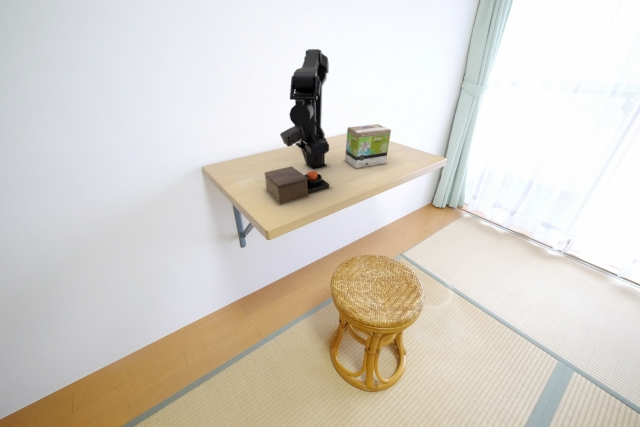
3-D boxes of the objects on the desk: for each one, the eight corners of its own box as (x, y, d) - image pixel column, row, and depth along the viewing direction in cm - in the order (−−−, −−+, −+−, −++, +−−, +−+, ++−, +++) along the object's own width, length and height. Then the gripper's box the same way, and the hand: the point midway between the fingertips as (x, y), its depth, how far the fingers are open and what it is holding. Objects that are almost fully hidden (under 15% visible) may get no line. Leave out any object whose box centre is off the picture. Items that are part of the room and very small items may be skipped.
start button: (305, 177, 93) (305, 172, 92) (314, 174, 95) (314, 170, 94) (310, 180, 91) (310, 176, 90) (319, 178, 92) (319, 173, 91)
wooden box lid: (308, 179, 83) (308, 177, 83) (278, 187, 79) (278, 185, 79) (291, 167, 93) (291, 166, 92) (264, 174, 88) (264, 172, 88)
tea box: (356, 169, 106) (359, 133, 98) (344, 161, 114) (346, 126, 106) (386, 163, 111) (391, 128, 103) (373, 156, 119) (377, 122, 111)
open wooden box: (307, 196, 87) (307, 180, 84) (279, 204, 83) (278, 187, 80) (292, 183, 96) (291, 168, 93) (266, 190, 92) (264, 174, 88)
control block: (296, 182, 96) (296, 174, 94) (315, 178, 100) (315, 169, 98) (309, 193, 89) (309, 184, 87) (329, 188, 92) (329, 179, 91)
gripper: (271, 114, 84) (276, 160, 92) (294, 128, 70) (297, 180, 79) (302, 110, 88) (304, 154, 97) (330, 123, 74) (329, 173, 83)
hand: (308, 165), depth 89 cm, fingers closed
